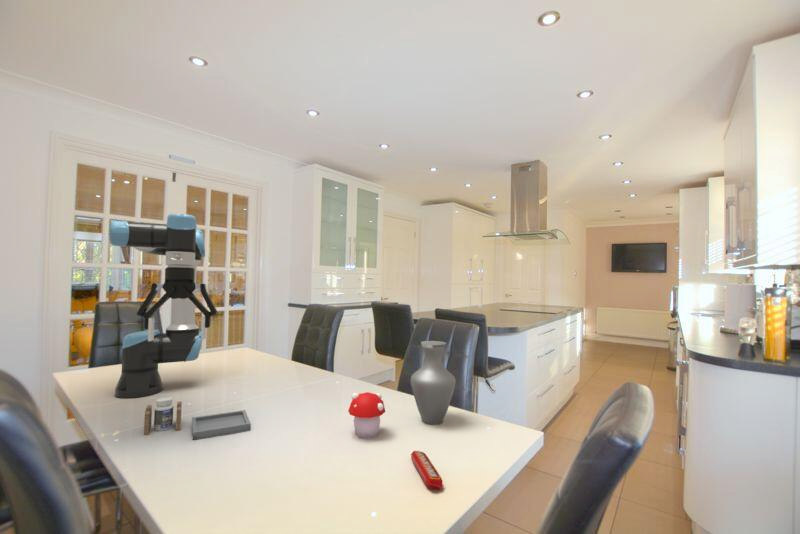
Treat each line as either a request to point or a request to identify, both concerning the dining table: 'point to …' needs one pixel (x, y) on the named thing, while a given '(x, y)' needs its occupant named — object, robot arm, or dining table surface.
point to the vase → (433, 384)
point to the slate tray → (220, 424)
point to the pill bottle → (163, 414)
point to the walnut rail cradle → (149, 415)
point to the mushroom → (366, 413)
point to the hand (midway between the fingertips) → (177, 339)
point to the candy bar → (426, 470)
